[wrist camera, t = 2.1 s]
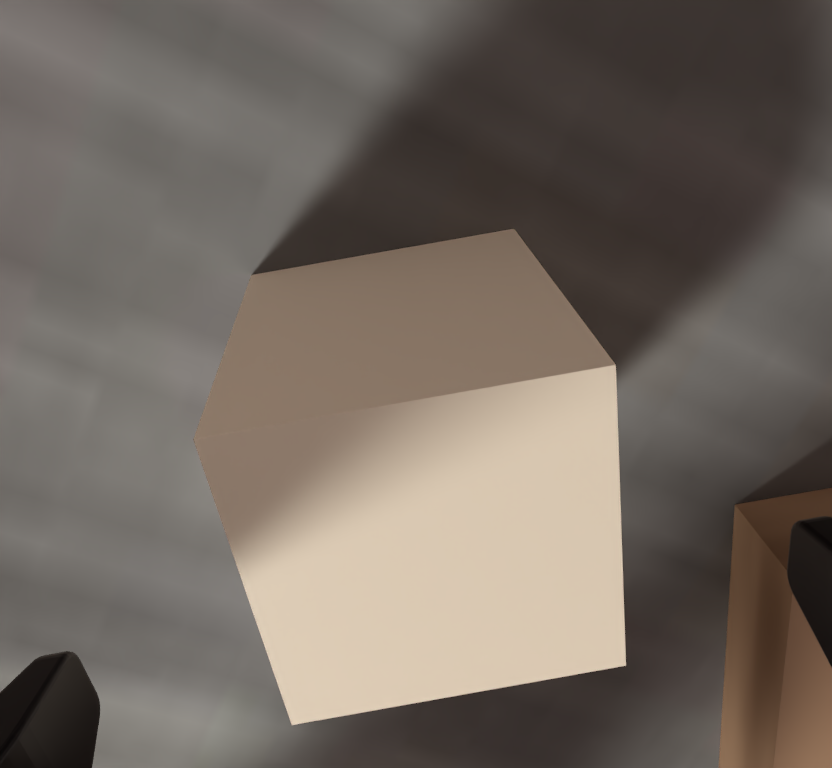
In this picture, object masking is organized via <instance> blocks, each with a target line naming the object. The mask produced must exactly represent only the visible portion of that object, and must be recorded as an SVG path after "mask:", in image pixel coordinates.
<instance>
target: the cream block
mask: <svg viewBox="0 0 832 768" xmlns="http://www.w3.org/2000/svg"><path fill="white" fill-rule="evenodd" d="M193 440H194V443H195V446H196V448H197V451H198V454H199V457H200V460H201V463H202V466H203V469H204V472H205V475H206V477H207V480H208V483H209V486H210V489H211V492H212V495H213V498H214V501H215V504H216V506H217V509H218V512H219V515H220V518H221V521H222V524H223V527H224V530H225V533H226V535H227V538H228V541H229V544H230V547H231V550H232V553H233V556H234V559H235V562H236V564H237V567H238V570H239V573H240V576H241V579H242V582H243V585H244V588H245V591H246V593H247V596H248V599H249V602H250V605H251V608H252V611H253V614H254V617H255V620H256V622H257V625H258V628H259V631H260V634H261V637H262V640H263V643H264V646H265V649H266V651H267V654H268V657H269V660H270V663H271V666H272V669H273V672H274V675H275V678H276V680H277V683H278V686H279V689H280V692H281V695H282V698H283V701H284V704H285V707H286V709H287V712H288V715H289V718H290V721H291V724H292V725H295V724H301V723H306V722H312V721H318V720H323V719H329V718H334V717H340V716H346V715H351V714H357V713H363V712H368V711H374V710H379V709H385V708H391V707H396V706H402V705H408V704H413V703H419V702H424V701H430V700H436V699H441V698H447V697H453V696H458V695H464V694H469V693H475V692H481V691H486V690H492V689H498V688H503V687H509V686H514V685H520V684H526V683H531V682H537V681H543V680H548V679H554V678H559V677H565V676H571V675H576V674H582V673H587V672H593V671H599V670H604V669H610V668H616V667H621V666H626V650H625V620H624V591H623V562H622V533H621V503H620V474H619V445H618V416H617V386H616V364H615V363H614V362H613V360H612V359H611V358H610V356H609V355H608V354H607V352H606V351H605V350H604V348H603V347H602V346H601V344H600V343H599V342H598V340H597V339H596V338H595V336H594V335H593V334H592V332H591V331H590V330H589V328H588V327H587V326H586V324H585V323H584V322H583V320H582V319H581V318H580V316H579V315H578V314H577V312H576V311H575V310H574V308H573V307H572V306H571V304H570V303H569V302H568V300H567V299H566V298H565V296H564V295H563V293H562V292H561V291H560V289H559V288H558V287H557V285H556V284H555V283H554V281H553V280H552V279H551V277H550V276H549V275H548V273H547V272H546V271H545V269H544V268H543V267H542V265H541V264H540V263H539V261H538V260H537V259H536V257H535V256H534V255H533V253H532V252H531V251H530V249H529V248H528V247H527V245H526V244H525V243H524V241H523V240H522V239H521V237H520V236H519V235H518V233H517V232H516V231H515V229H509V230H504V231H498V232H492V233H487V234H481V235H475V236H470V237H464V238H458V239H453V240H447V241H441V242H436V243H430V244H424V245H419V246H413V247H407V248H402V249H396V250H390V251H385V252H379V253H373V254H368V255H362V256H356V257H351V258H345V259H339V260H334V261H328V262H322V263H317V264H311V265H305V266H300V267H294V268H288V269H283V270H277V271H271V272H266V273H260V274H254V275H251V278H250V280H249V283H248V286H247V289H246V292H245V295H244V297H243V300H242V303H241V306H240V309H239V312H238V314H237V317H236V320H235V323H234V326H233V329H232V331H231V334H230V337H229V340H228V343H227V346H226V348H225V351H224V354H223V357H222V360H221V363H220V365H219V368H218V371H217V374H216V377H215V380H214V382H213V385H212V388H211V391H210V394H209V397H208V399H207V402H206V405H205V408H204V411H203V414H202V416H201V419H200V422H199V425H198V428H197V431H196V433H195V436H194V439H193Z"/></svg>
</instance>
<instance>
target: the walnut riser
mask: <svg viewBox="0 0 832 768" xmlns="http://www.w3.org/2000/svg"><path fill="white" fill-rule="evenodd" d="M821 516H829V517H832V488H828V489H822V490H816V491H810V492H805V493H799V494H793V495H787V496H782V497H776V498H770V499H764V500H759V501H753V502H747V503H741V504H735V510H734V526H733V542H732V559H731V575H730V591H729V608H728V624H727V640H726V657H725V673H724V689H723V706H722V722H721V738H720V755H719V768H832V668H831V666H830V664H829V662H828V660H827V658H826V656H825V654H824V652H823V650H822V648H821V646H820V645H819V643H818V641H817V639H816V637H815V635H814V633H813V631H812V629H811V627H810V625H809V623H808V622H807V620H806V618H805V616H804V614H803V612H802V610H801V608H800V606H799V604H798V602H797V600H796V598H795V597H794V595H793V593H792V591H791V588H790V585H789V582H788V577H787V565H788V554H789V544H790V534H791V528H792V526H793V524H794V523H795V522H797V521H799V520H804V519H810V518H815V517H821Z"/></svg>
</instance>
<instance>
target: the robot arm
mask: <svg viewBox="0 0 832 768" xmlns="http://www.w3.org/2000/svg"><path fill="white" fill-rule="evenodd" d="M787 577H788V582H789V585H790V588H791V591H792V593H793V595H794V597H795V598H796V600H797V602H798V604H799V606H800V608H801V610H802V612H803V614H804V616H805V618H806V620H807V622H808V623H809V625H810V627H811V629H812V631H813V633H814V635H815V637H816V639H817V641H818V643H819V645H820V646H821V648H822V650H823V652H824V654H825V656H826V658H827V660H828V662H829V664H830V666H831V668H832V517H829V516H821V517H815V518H810V519H804V520H799V521H797V522H795V523H794V524H793V526H792V528H791V534H790V544H789V554H788V565H787ZM99 718H100V702H99V698H98V695H97V692H96V690H95V688H94V686H93V685H92V683H91V681H90V679H89V677H88V675H87V673H86V671H85V669H84V667H83V665H82V663H81V661H80V659H79V658H78V656H77V655H76V654H75V653H73V652H68V651H66V652H61V653H55V654H49V655H44V656H41V657H39V658H37V659H35V660H34V661H33V662H32V663H31V664H30V665H29V666H28V667H27V668H25V669H24V670H23V671H22V672H21V673H20V674H19V675H18V676H17V677H16V678H15V679H14V680H13V681H12V682H11V683H10V684H9V685H8V686H7V687H6V688H5V689H3V690H2V691H1V692H0V768H92V764H93V757H94V751H95V744H96V738H97V731H98V725H99Z"/></svg>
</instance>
